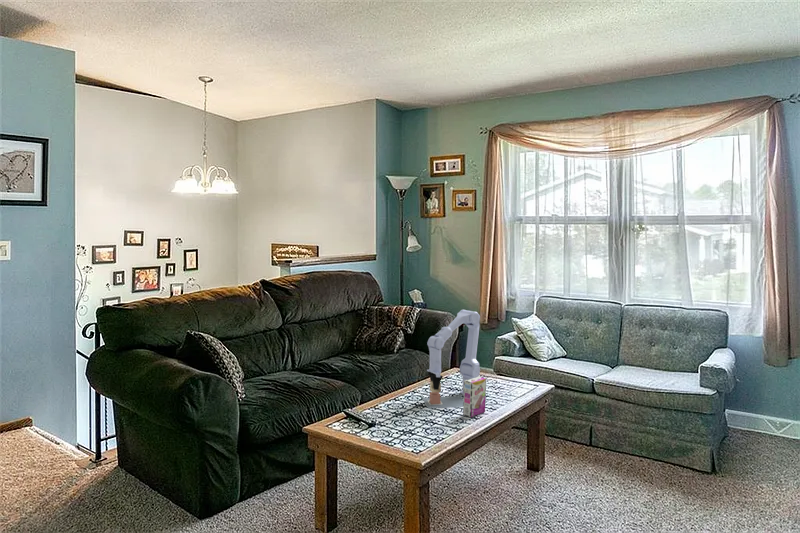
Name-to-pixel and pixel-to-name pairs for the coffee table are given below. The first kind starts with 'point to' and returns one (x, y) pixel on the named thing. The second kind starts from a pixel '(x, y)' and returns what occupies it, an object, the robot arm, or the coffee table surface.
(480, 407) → the candy bar box
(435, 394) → the brick-red base block
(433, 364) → the robot arm
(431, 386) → the maple block
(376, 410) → the coffee table surface
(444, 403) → the grey flat plate
